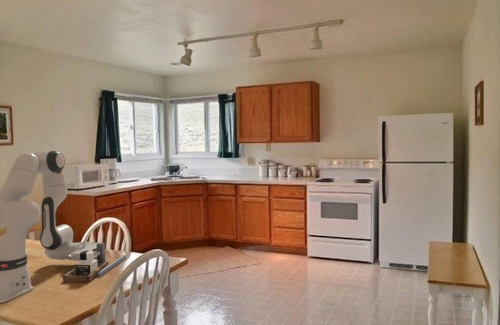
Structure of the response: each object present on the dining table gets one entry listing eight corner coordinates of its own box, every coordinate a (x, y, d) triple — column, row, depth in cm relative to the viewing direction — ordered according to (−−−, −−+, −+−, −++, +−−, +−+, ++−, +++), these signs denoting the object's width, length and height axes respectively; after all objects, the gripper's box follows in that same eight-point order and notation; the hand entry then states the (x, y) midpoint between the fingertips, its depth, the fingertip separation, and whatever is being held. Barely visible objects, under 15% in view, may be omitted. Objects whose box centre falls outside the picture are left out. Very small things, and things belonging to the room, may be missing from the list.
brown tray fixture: (88, 281, 177) (87, 257, 177) (62, 280, 179) (61, 257, 178) (114, 263, 203) (113, 243, 202) (91, 263, 204) (90, 242, 204)
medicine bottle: (76, 278, 182) (75, 253, 182) (84, 273, 189) (83, 249, 189) (90, 279, 182) (89, 253, 181) (98, 274, 189) (97, 249, 188)
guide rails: (100, 276, 185) (100, 272, 184) (68, 276, 186) (68, 271, 186) (126, 258, 213) (126, 254, 213) (98, 257, 215) (98, 254, 215)
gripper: (65, 251, 192) (92, 251, 191) (87, 240, 213) (111, 240, 211) (66, 263, 193) (92, 264, 191) (87, 251, 213) (111, 252, 212)
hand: (102, 251), depth 202 cm, fingers open, 3 cm apart
